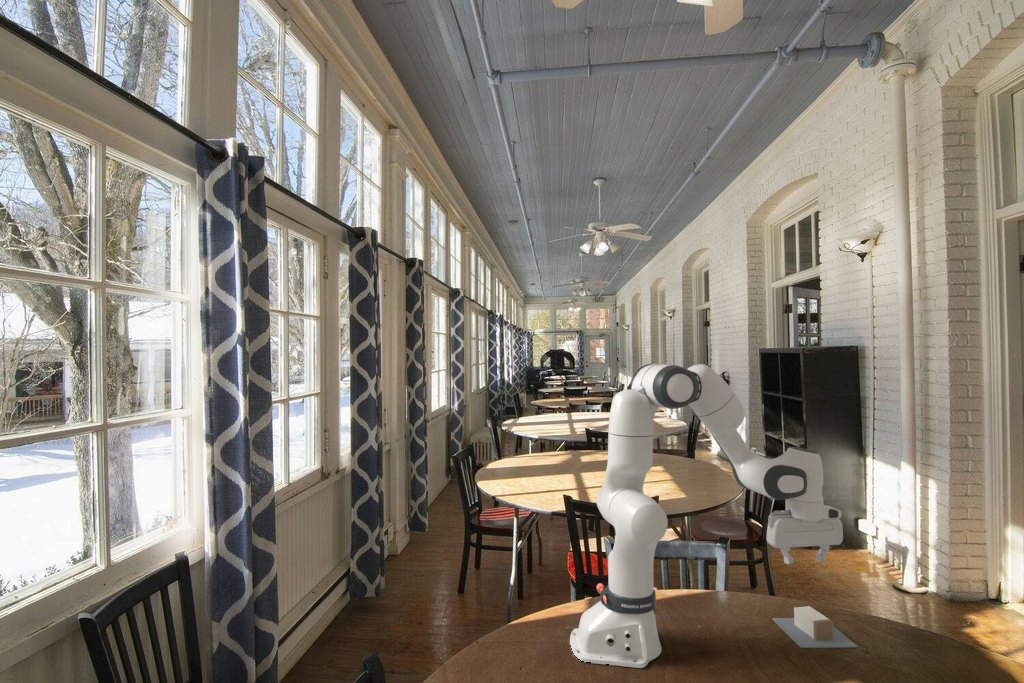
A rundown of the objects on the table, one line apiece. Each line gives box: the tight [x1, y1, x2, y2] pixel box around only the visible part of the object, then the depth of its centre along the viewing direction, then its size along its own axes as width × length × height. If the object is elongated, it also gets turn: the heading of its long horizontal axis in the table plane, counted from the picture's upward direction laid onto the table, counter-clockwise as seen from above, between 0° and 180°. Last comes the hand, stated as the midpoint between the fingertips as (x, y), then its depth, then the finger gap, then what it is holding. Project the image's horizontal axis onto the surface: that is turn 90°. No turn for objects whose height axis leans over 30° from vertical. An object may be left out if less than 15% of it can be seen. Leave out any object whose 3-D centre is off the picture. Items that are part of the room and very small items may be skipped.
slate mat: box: [771, 617, 859, 649], centre depth 135 cm, size 14×14×1 cm
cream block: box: [793, 605, 833, 641], centre depth 135 cm, size 4×4×8 cm
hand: (804, 562), depth 137 cm, fingers open, 8 cm apart
